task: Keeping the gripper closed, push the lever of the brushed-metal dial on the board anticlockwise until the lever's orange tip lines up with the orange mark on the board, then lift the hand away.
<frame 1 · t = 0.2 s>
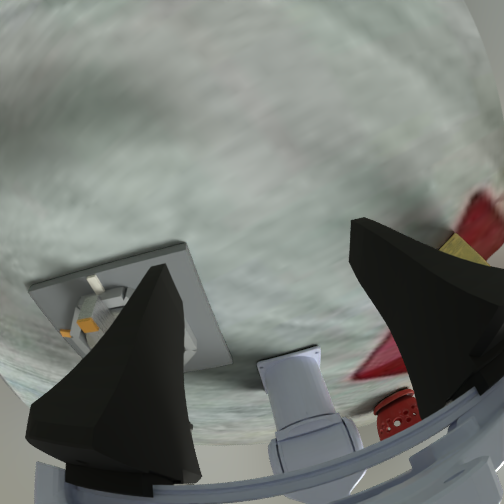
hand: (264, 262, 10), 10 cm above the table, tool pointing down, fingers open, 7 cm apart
candy box: (449, 259, 28), on the table
board: (133, 328, 25), on the table
dial: (122, 345, 22), point 3 cm above the table, hinge at 0.0°
plant pot: (390, 398, 55), on the table
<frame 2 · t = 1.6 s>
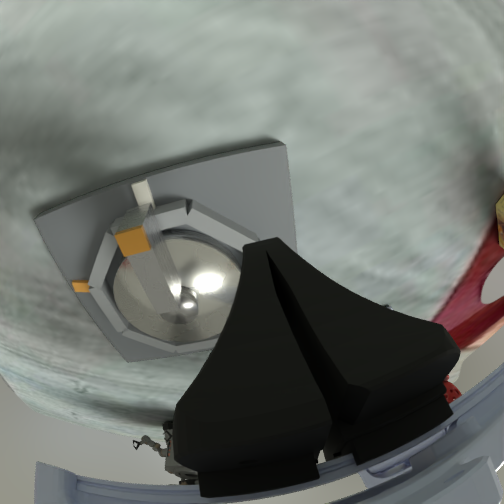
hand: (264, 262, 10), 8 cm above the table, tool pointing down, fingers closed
candy box: (503, 216, 23), on the table
board: (180, 276, 20), on the table
dial: (171, 293, 16), point 3 cm above the table, hinge at 0.0°
figurine: (183, 415, 34), on the table
plant pot: (425, 385, 50), on the table
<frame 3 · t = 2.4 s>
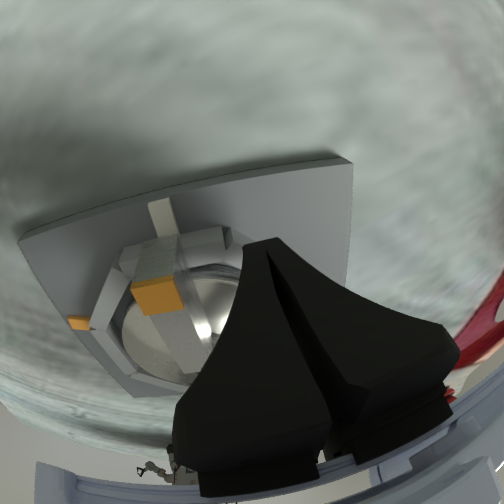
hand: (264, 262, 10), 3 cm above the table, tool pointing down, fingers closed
board: (202, 313, 16), on the table
dial: (198, 343, 13), point 3 cm above the table, hinge at 0.0°
figurine: (189, 439, 30), on the table
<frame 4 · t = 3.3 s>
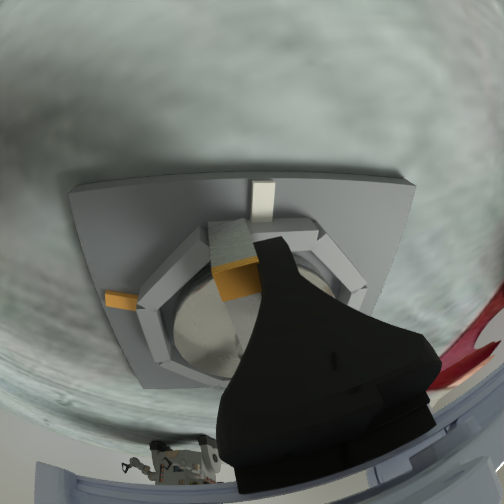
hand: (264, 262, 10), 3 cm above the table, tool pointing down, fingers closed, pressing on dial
board: (250, 303, 16), on the table
dial: (257, 331, 13), point 3 cm above the table, hinge at 13.8°, touching gripper
figurine: (175, 436, 29), on the table
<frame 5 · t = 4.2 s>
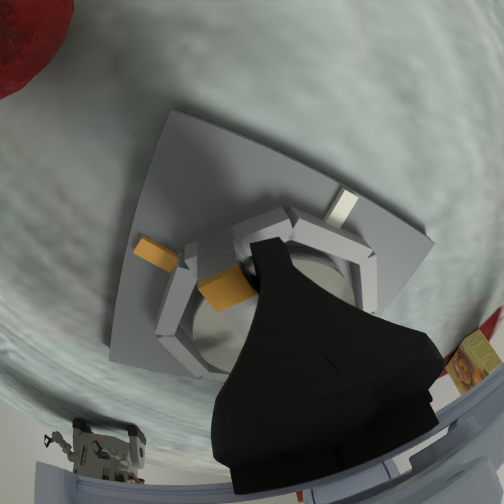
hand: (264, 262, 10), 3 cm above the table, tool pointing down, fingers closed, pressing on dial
onion: (47, 36, 6), on the table
candy box: (460, 348, 32), on the table
board: (268, 300, 16), on the table
dial: (272, 329, 13), point 3 cm above the table, hinge at 50.3°, touching gripper
figurine: (103, 420, 24), on the table
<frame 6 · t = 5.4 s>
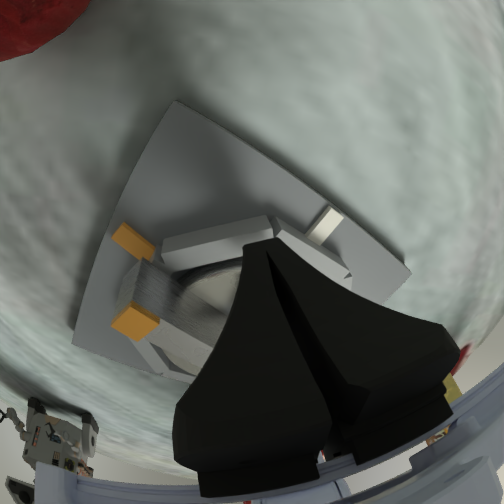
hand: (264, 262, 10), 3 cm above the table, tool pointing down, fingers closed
onion: (68, 4, 5), on the table
candy box: (423, 379, 34), on the table
board: (237, 306, 16), on the table
dial: (229, 340, 13), point 3 cm above the table, hinge at 75.6°
figurine: (58, 403, 22), on the table
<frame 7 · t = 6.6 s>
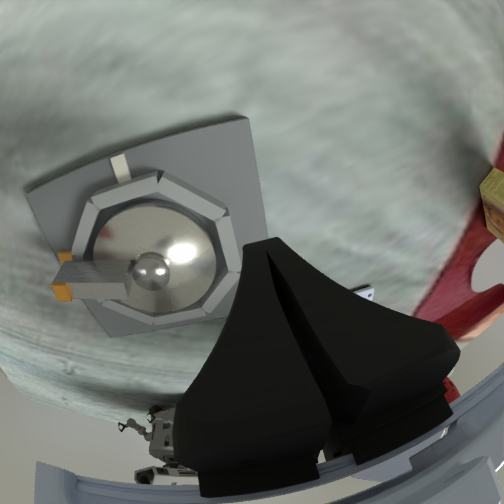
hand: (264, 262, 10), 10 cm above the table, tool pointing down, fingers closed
candy box: (489, 199, 24), on the table
board: (156, 247, 20), on the table
dial: (134, 273, 18), point 3 cm above the table, hinge at 75.8°
figurine: (169, 399, 35), on the table
plant pot: (418, 377, 51), on the table
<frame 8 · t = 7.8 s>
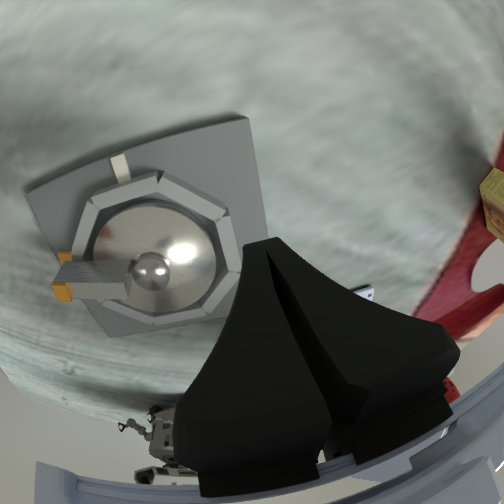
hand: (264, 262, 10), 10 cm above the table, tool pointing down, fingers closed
candy box: (489, 199, 24), on the table
board: (156, 247, 20), on the table
dial: (134, 273, 18), point 3 cm above the table, hinge at 75.8°
figurine: (169, 399, 35), on the table
plant pot: (418, 377, 51), on the table
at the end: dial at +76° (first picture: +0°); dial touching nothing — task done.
